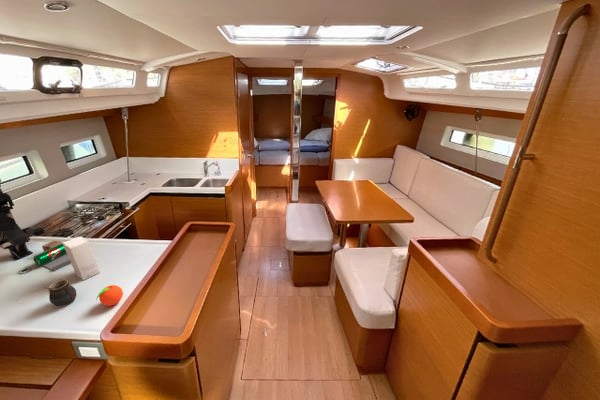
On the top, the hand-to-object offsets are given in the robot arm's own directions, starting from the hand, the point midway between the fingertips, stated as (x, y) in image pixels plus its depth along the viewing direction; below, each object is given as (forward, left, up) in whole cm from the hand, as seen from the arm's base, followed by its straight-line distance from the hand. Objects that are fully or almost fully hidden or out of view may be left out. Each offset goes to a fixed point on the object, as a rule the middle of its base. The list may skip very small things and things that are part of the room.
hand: (21, 257), depth 108 cm
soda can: (-3, +4, -6) cm, 8 cm away
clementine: (+49, +4, -9) cm, 50 cm away
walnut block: (-10, +14, -9) cm, 19 cm away
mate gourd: (+33, -2, -9) cm, 34 cm away
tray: (0, +12, -9) cm, 15 cm away
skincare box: (+22, +11, -9) cm, 26 cm away
